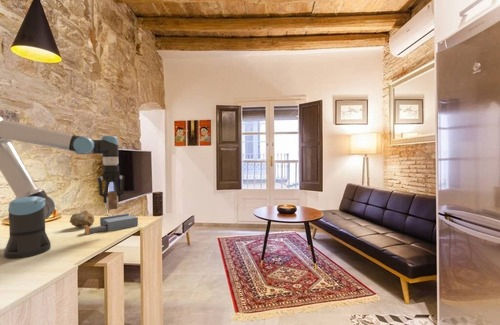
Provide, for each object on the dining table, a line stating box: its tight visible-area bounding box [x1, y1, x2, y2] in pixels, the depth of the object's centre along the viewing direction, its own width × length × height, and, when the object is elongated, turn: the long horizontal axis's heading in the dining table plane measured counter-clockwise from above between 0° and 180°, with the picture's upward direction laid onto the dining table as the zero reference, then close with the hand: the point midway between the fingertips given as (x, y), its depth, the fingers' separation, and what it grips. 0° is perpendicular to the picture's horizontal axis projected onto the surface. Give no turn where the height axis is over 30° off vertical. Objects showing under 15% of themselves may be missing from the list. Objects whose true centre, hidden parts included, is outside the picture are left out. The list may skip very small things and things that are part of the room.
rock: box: [69, 209, 95, 228], centre depth 150 cm, size 12×10×10 cm
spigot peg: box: [107, 190, 118, 211], centre depth 135 cm, size 4×4×9 cm
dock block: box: [99, 213, 139, 232], centre depth 151 cm, size 16×17×5 cm
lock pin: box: [84, 225, 108, 235], centre depth 140 cm, size 14×4×4 cm, turn 134°
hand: (112, 208), depth 135 cm, fingers closed on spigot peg, 4 cm apart
